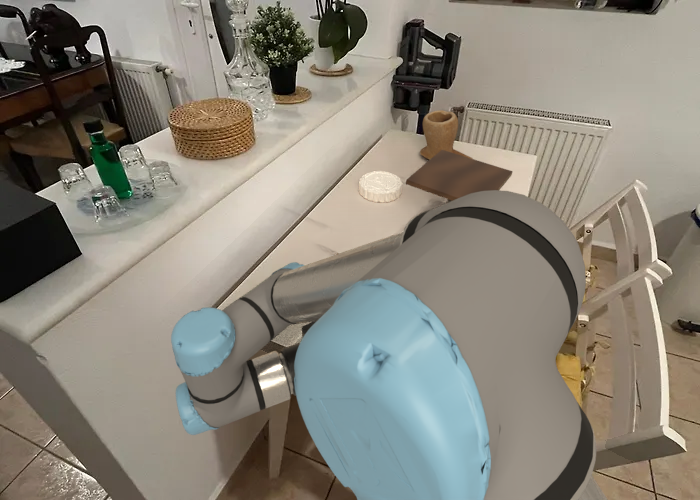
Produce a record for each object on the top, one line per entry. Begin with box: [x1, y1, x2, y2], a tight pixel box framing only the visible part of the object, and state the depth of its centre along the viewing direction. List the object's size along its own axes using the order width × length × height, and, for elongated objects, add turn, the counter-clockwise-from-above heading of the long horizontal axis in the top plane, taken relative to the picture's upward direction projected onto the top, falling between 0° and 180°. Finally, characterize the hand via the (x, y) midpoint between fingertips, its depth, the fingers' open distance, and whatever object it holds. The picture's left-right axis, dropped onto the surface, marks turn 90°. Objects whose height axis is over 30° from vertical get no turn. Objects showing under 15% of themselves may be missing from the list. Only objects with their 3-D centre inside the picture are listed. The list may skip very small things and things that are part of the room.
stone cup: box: [419, 109, 474, 161], centre depth 128 cm, size 15×12×15 cm
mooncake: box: [358, 170, 403, 204], centre depth 118 cm, size 12×12×4 cm
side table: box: [405, 150, 513, 203], centre depth 102 cm, size 18×18×15 cm
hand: (407, 329), depth 72 cm, fingers open, 13 cm apart
